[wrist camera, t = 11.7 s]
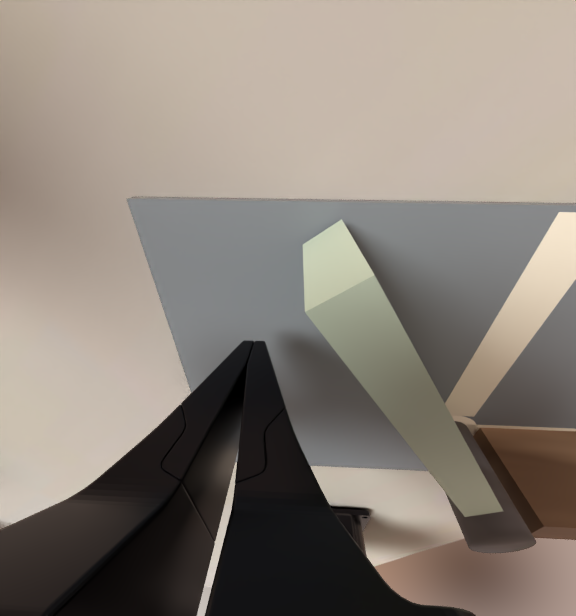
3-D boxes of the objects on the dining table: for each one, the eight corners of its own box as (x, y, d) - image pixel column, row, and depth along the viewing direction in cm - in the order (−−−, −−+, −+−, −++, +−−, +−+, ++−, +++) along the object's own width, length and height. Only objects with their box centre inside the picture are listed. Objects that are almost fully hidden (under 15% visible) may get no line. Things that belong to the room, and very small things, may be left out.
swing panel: (424, 427, 14) (464, 517, 11) (302, 244, 8) (304, 312, 5) (452, 419, 13) (503, 511, 10) (341, 219, 8) (374, 274, 4)
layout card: (627, 474, 17) (634, 480, 17) (215, 455, 18) (214, 461, 18) (1085, 210, 7) (1122, 214, 7) (133, 196, 8) (126, 199, 8)
